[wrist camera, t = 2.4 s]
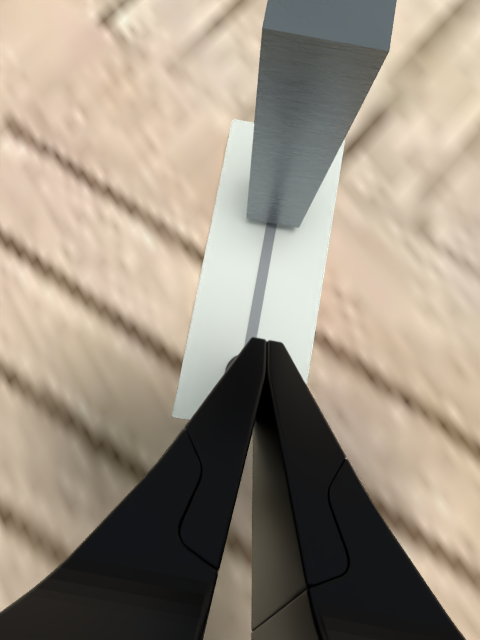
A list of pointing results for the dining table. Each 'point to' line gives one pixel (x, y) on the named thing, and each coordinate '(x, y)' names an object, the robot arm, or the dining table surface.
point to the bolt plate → (254, 278)
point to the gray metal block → (310, 96)
